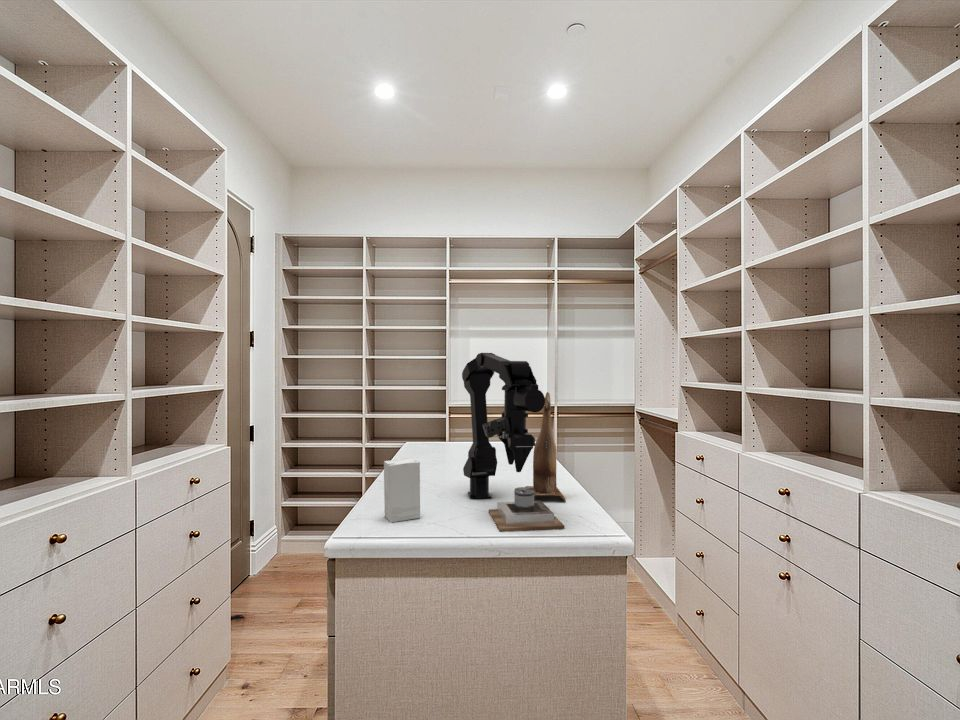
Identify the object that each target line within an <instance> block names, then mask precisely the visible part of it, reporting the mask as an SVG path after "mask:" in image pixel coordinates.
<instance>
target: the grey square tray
mask: <svg viewBox="0 0 960 720" xmlns="http://www.w3.org/2000/svg"><path fill="white" fill-rule="evenodd" d="M496 509H497V512H498V513H499V515H500V517H501V518H502V520H503V521H504V523H505V525H530V524H554V516H555V513H554V512H553V511H552V510H551V509H550V508H549V506H547V505H546V504H545V503H544V502H543V501H542V500H534V512H521V513H515V501H497V504H496Z"/></svg>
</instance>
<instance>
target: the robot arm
mask: <svg viewBox="0 0 960 720" xmlns="http://www.w3.org/2000/svg"><path fill="white" fill-rule="evenodd" d="M495 373H497V374H498V378H499V379H500V380H501V381H502V382H503V383H504V385H503V386H502V387H501V391H504V403H503V405H504V409H503V410H504V411H502V413H501V416H500V417H499V418H498V417H497V418H496V419H493V420H489V421H488V408H487V407H488V406H487V392H488V390H489V389H490V386H491V380H492V378H493V376H495ZM461 379H462V381H463V386H464V389H465V390H466V391H467V392H468V394H469V400H470V414H471V415H470V416H471V430H472V431H471V433H472V443H471V445H470V448H469V450H468V452H467V454H468V455H467V460H466V462H465V463H464V465H463V469H462V471H463V476H465V477H466V478H468V479H469V491H467V496H468V498H469V499H491V498H492V495H491V493H490V492H489V491H490V484H489V483H490V480H489V479H490V477H495V476H496V473H497V466H498V459H497V449H496V447H495V446H492V444H491V443H490V440H489V438H493V437H494V436H496V435H497V438H498V439H499V440H500V441H501V443H503V444H504V448H505V454H506V458H507V463H508V465H513V464H514V467H515V471H516V473H521V472H522V470H523V468H524V466H525V464H526V461H527V460H528V458H529V455H530V453H531V452H532V450H534V447H535V443H536V438H535V437H534V436H533V435H532V434H531V433H529V429H528V428H527V418H529V413H528V412H530V413H538V412H541V411H542V410H544V405H545V395H544V393H543V392H542V390H541V389H539V384H537V378H536V377H535V375H534V373H533V369H532V367H531V366H530V363H529V362H528V361H527V360H509V359H507V358H505V357H502V356H499V355H498V354H497V355H496V354H495V353H493V352H480V353H477V355H476V357H475V358H473V359H472V360H470V361H468V362H467V363H466V365H465V366H464V368H463V370H462V373H461Z"/></svg>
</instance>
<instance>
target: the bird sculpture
mask: <svg viewBox="0 0 960 720" xmlns="http://www.w3.org/2000/svg"><path fill="white" fill-rule="evenodd" d="M544 397H545V405H544V407H543V409H542V410H543V412H542V420H541V426H540V427H541V428H540V432H539V434H538V437H537V438H536V440H535V446H533V457H532V460H533V461H532V477H533V478H532V484H533V485H526V486H525V487H528V488H533V489H534V497H535V496H558V497H560V498H561V499H562V500H563V501H564V502H565V503H566V502H567V499H566V497H565V496H564V494H563V493H562V492H561V490H560V489H559V488H558V487H557V446H556V443H555V438H554V434H553V429H552V415H551V414H552V413H551V408H552V407H551V406H552V404H551V403H552V402H551V394H550V392H548V391H547V392H546V393H545V395H544Z"/></svg>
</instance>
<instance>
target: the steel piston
mask: <svg viewBox="0 0 960 720" xmlns="http://www.w3.org/2000/svg"><path fill="white" fill-rule="evenodd" d="M513 493H514V502H515V513H521V512H534V501H535V496H534V489H533V488H528V487H526V486H522V487H521V486H520V487H515V488H514V491H513Z"/></svg>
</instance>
